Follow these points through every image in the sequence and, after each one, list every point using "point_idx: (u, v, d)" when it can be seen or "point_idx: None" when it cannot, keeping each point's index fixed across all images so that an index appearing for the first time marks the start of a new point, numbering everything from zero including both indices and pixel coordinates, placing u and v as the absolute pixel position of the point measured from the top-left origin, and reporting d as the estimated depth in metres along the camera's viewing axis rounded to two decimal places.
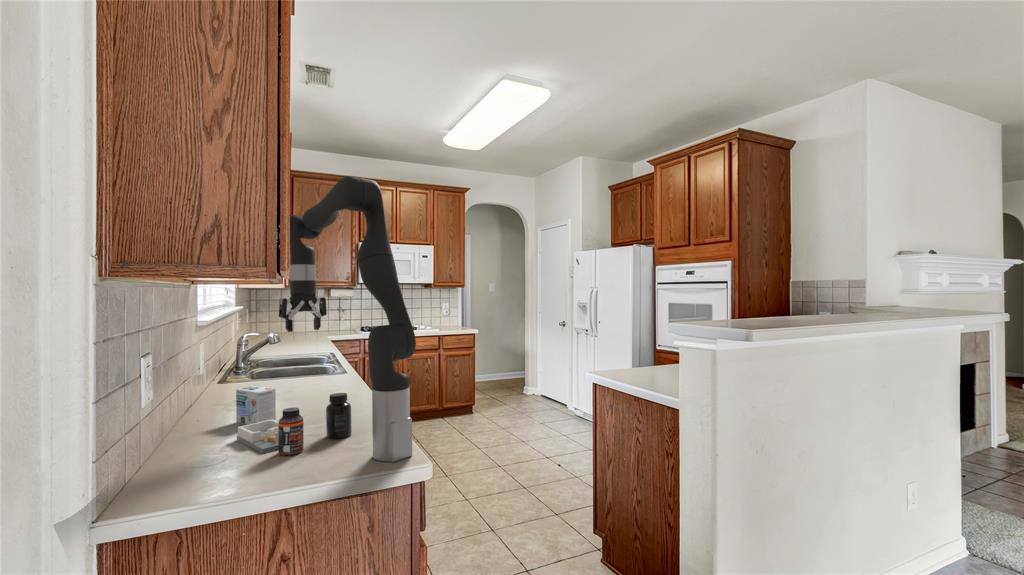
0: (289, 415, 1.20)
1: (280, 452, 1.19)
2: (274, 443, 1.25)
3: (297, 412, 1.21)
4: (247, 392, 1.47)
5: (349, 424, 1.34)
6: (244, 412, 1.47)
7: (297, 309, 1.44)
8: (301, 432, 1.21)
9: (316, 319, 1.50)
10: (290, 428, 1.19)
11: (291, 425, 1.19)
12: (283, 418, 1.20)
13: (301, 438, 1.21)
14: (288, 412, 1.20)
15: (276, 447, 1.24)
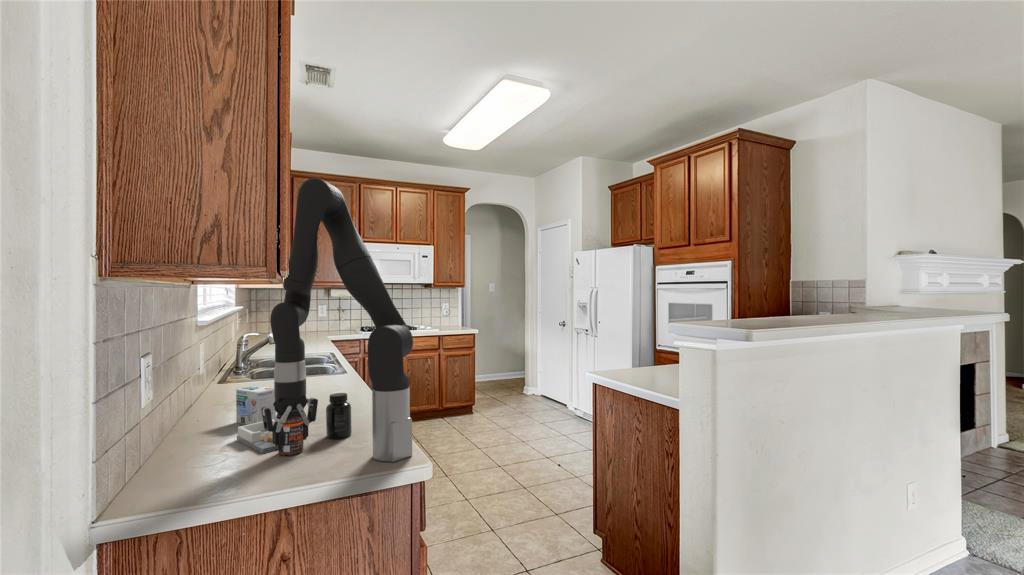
0: (289, 415, 1.20)
1: (280, 452, 1.19)
2: None
3: (297, 412, 1.21)
4: (247, 392, 1.47)
5: (349, 424, 1.34)
6: (244, 412, 1.47)
7: (285, 418, 1.19)
8: (301, 432, 1.21)
9: (303, 427, 1.24)
10: (290, 428, 1.19)
11: (291, 425, 1.19)
12: None
13: (301, 438, 1.21)
14: None
15: (276, 447, 1.24)
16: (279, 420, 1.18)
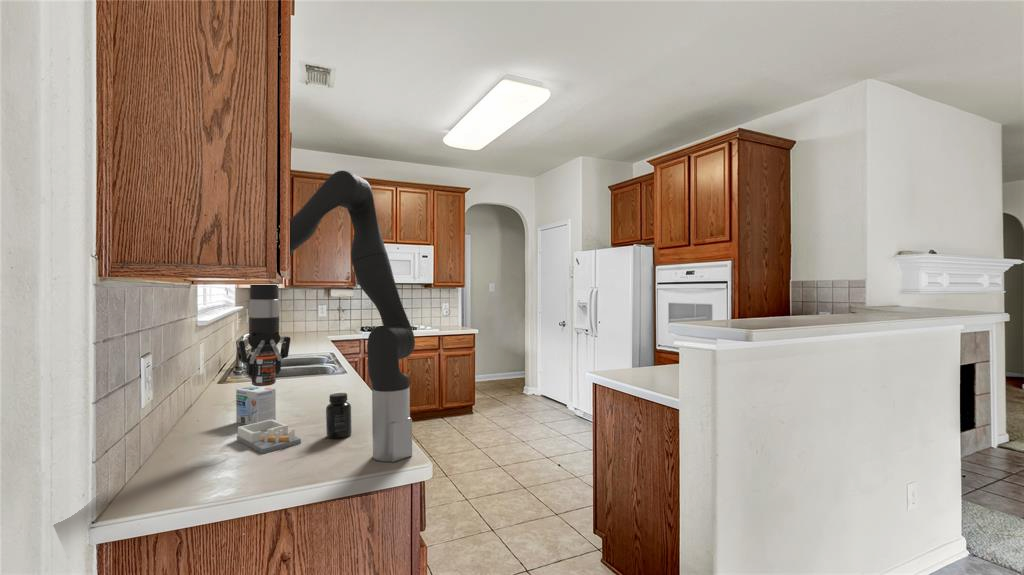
0: (262, 349, 1.29)
1: (253, 383, 1.28)
2: (274, 443, 1.25)
3: (270, 347, 1.30)
4: (247, 392, 1.47)
5: (349, 424, 1.34)
6: (244, 412, 1.47)
7: (258, 351, 1.28)
8: (273, 365, 1.30)
9: None
10: (262, 360, 1.28)
11: (264, 358, 1.28)
12: None
13: (273, 371, 1.30)
14: None
15: (276, 447, 1.24)
16: (253, 353, 1.28)
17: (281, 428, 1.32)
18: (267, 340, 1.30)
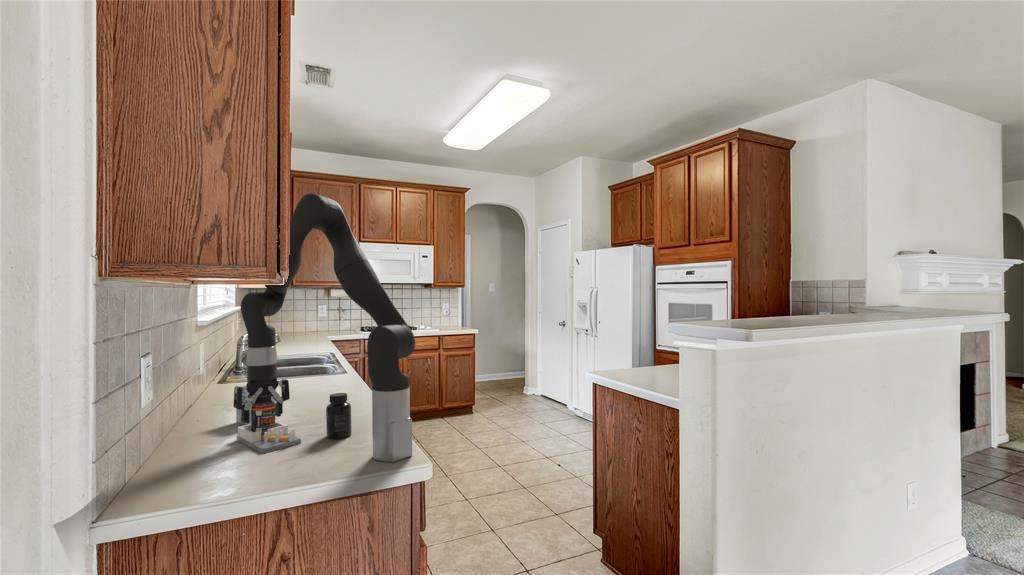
0: (261, 400, 1.31)
1: None
2: (274, 443, 1.25)
3: (269, 397, 1.32)
4: (247, 392, 1.47)
5: (349, 424, 1.34)
6: None
7: (255, 398, 1.29)
8: (272, 416, 1.32)
9: (277, 405, 1.35)
10: (262, 412, 1.30)
11: (263, 409, 1.30)
12: (256, 403, 1.31)
13: (272, 421, 1.32)
14: (260, 397, 1.31)
15: (276, 447, 1.24)
16: (249, 399, 1.29)
17: (281, 428, 1.32)
18: (265, 387, 1.32)
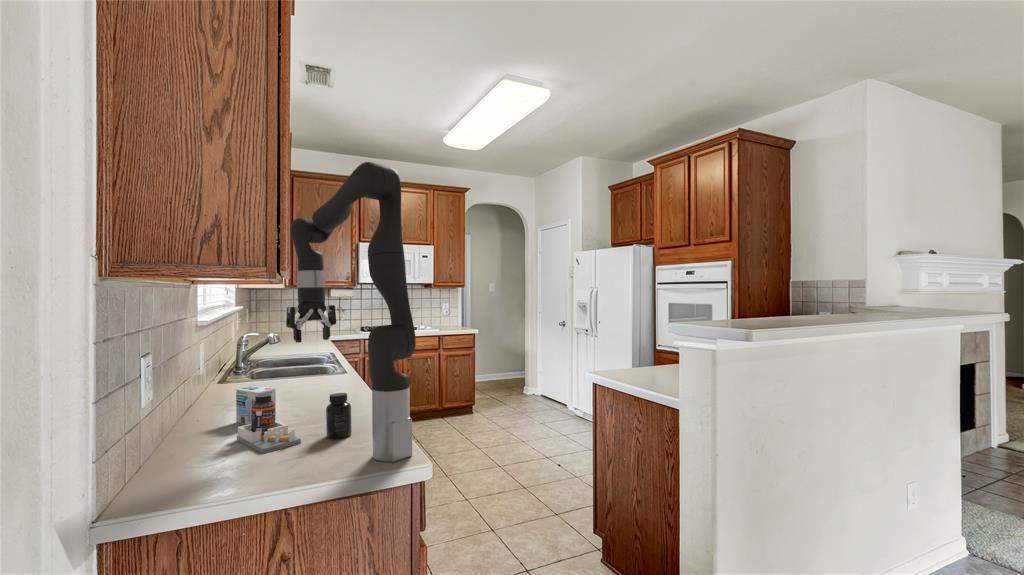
0: (261, 401, 1.30)
1: None
2: (274, 443, 1.25)
3: (269, 398, 1.32)
4: (247, 392, 1.47)
5: (349, 424, 1.34)
6: (244, 412, 1.47)
7: (306, 318, 1.35)
8: (272, 416, 1.32)
9: (325, 328, 1.41)
10: (262, 412, 1.30)
11: (263, 409, 1.30)
12: (256, 403, 1.31)
13: (272, 421, 1.32)
14: (260, 397, 1.30)
15: (276, 447, 1.24)
16: (301, 319, 1.35)
17: (281, 428, 1.32)
18: (315, 309, 1.38)
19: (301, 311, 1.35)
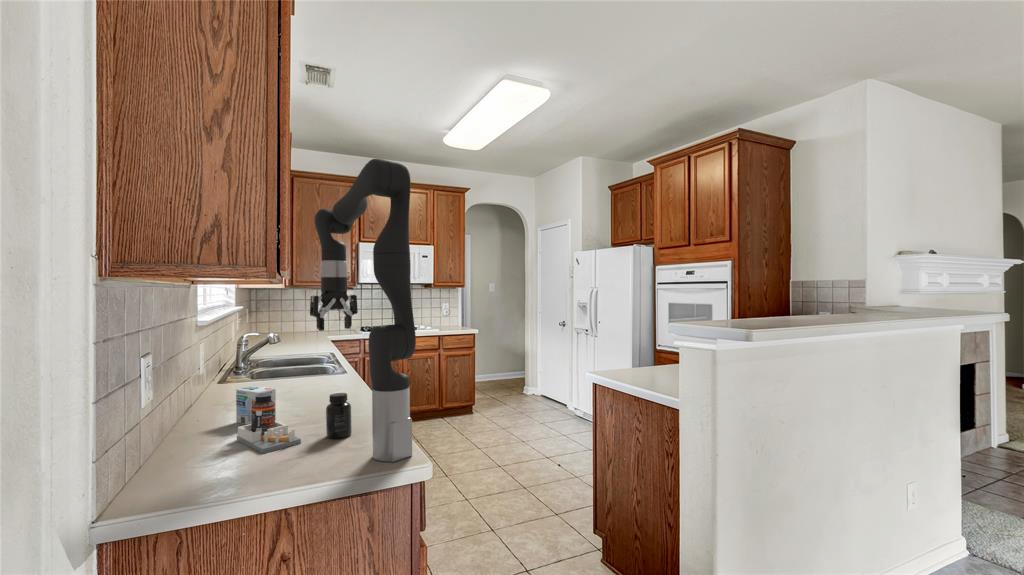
0: (261, 401, 1.31)
1: None
2: (274, 443, 1.25)
3: (269, 398, 1.32)
4: (247, 392, 1.47)
5: (349, 424, 1.34)
6: (244, 412, 1.47)
7: (329, 307, 1.38)
8: (272, 416, 1.32)
9: (347, 317, 1.44)
10: (262, 412, 1.30)
11: (263, 409, 1.30)
12: (256, 403, 1.31)
13: (272, 421, 1.32)
14: (260, 397, 1.31)
15: (276, 447, 1.24)
16: (324, 308, 1.38)
17: (281, 428, 1.32)
18: (337, 299, 1.41)
19: (324, 300, 1.38)
